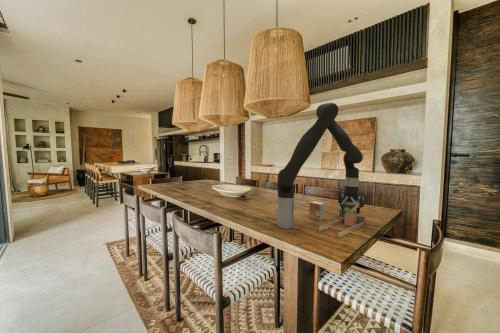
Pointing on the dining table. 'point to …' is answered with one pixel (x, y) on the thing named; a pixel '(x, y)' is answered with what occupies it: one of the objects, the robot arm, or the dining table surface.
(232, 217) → the dining table surface
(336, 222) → the guide channel
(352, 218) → the block
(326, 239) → the dining table surface
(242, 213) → the dining table surface
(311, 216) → the small box
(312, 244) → the dining table surface
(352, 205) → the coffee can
